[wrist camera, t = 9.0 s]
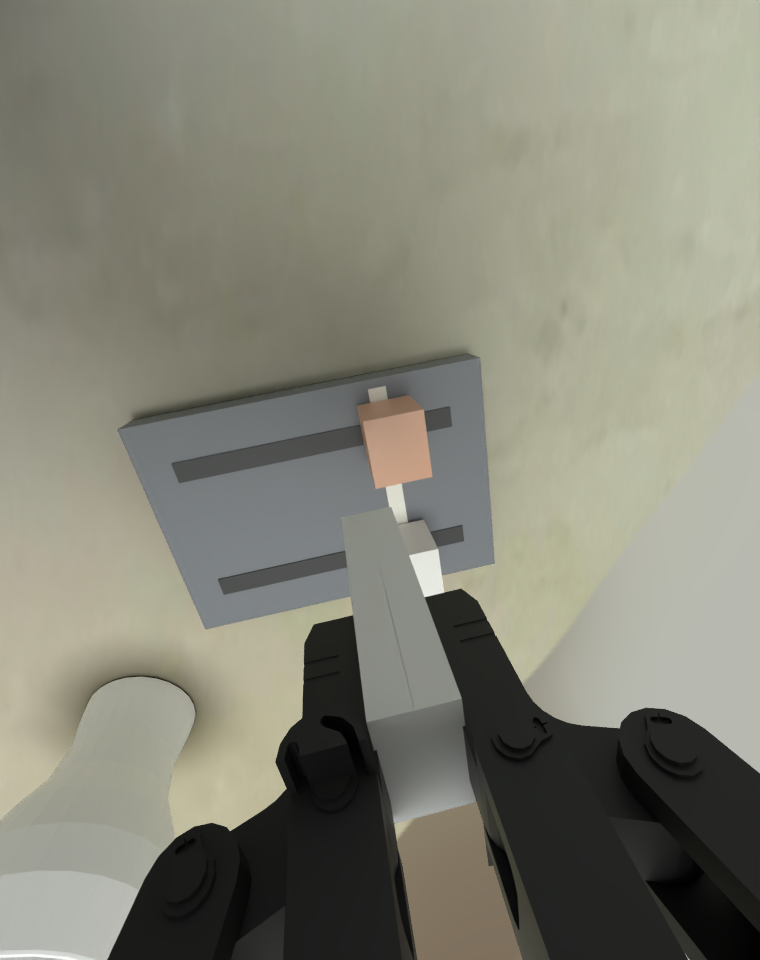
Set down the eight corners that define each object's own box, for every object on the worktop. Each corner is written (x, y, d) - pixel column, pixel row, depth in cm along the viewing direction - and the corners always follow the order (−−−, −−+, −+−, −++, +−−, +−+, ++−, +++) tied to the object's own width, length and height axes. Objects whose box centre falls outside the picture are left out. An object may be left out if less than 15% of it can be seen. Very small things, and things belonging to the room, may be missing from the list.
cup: (139, 636, 30) (-11, 918, 16) (243, 713, 34) (194, 988, 20) (33, 712, 31) (-189, 1032, 18) (145, 777, 35) (37, 1077, 22)
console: (132, 420, 24) (116, 430, 22) (468, 353, 25) (480, 357, 24) (212, 609, 30) (205, 630, 28) (484, 548, 31) (495, 564, 29)
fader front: (356, 405, 23) (362, 422, 20) (409, 394, 24) (423, 409, 20) (368, 465, 25) (375, 488, 22) (417, 454, 25) (432, 476, 22)
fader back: (377, 529, 27) (385, 560, 23) (423, 519, 27) (438, 548, 24) (386, 575, 28) (395, 611, 25) (430, 565, 28) (445, 599, 25)
